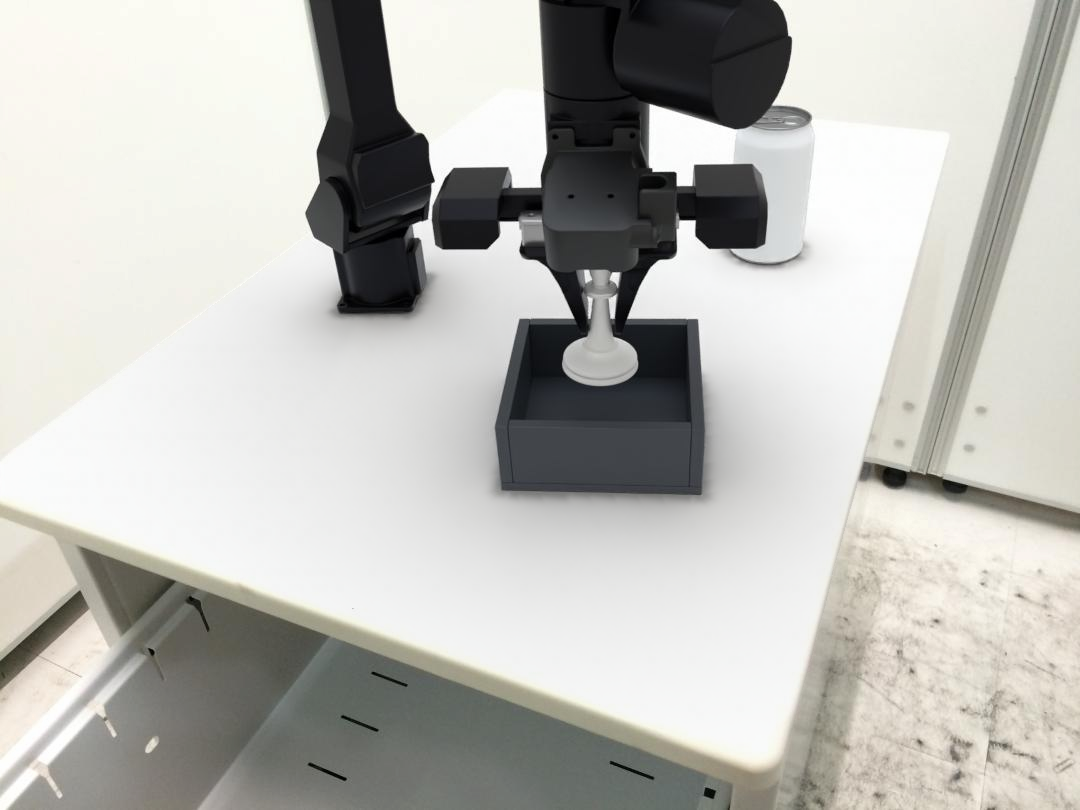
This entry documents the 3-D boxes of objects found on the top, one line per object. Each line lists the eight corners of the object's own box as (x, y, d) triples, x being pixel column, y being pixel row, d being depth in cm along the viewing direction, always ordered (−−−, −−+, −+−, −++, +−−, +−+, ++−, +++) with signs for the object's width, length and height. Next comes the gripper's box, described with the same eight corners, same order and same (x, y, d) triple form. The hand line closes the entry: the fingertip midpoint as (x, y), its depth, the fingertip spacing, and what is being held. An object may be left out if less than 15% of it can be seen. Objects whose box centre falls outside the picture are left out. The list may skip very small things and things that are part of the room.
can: (802, 267, 81) (819, 131, 74) (726, 264, 82) (734, 130, 75) (801, 233, 86) (816, 103, 79) (729, 231, 87) (737, 102, 80)
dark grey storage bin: (501, 490, 60) (494, 426, 57) (524, 376, 70) (519, 318, 67) (701, 494, 58) (705, 430, 55) (695, 378, 68) (698, 318, 65)
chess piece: (592, 336, 64) (592, 199, 58) (653, 360, 61) (659, 219, 55) (546, 369, 61) (542, 228, 55) (608, 395, 58) (610, 251, 52)
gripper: (391, 143, 45) (432, 404, 54) (791, 136, 43) (762, 410, 52) (436, 69, 54) (464, 305, 63) (769, 61, 52) (747, 306, 61)
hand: (601, 330), depth 60 cm, fingers closed on chess piece
